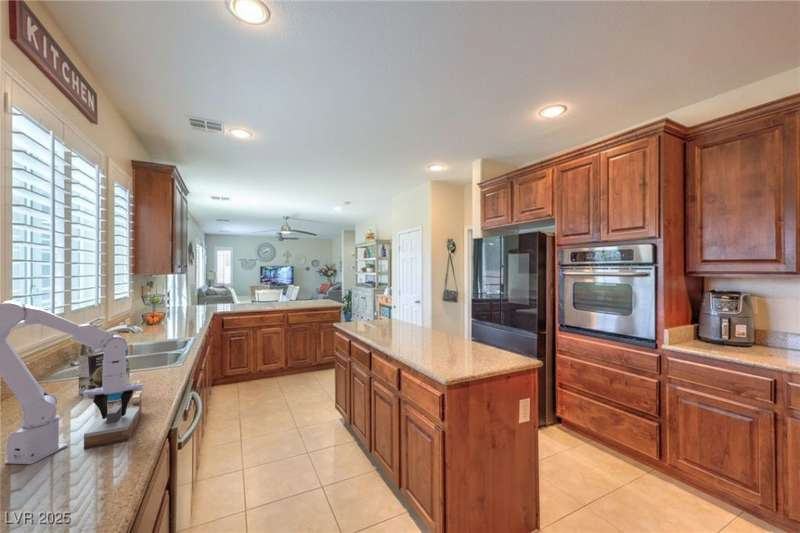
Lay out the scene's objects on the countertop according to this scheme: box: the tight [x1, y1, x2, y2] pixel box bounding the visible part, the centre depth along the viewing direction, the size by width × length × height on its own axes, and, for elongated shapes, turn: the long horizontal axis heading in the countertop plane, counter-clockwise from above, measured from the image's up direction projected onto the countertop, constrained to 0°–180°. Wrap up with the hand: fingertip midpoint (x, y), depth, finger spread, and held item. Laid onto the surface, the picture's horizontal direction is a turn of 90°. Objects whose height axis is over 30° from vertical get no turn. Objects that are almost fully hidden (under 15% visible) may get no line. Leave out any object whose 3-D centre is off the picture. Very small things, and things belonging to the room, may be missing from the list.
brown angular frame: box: [83, 399, 143, 450], centre depth 109 cm, size 22×10×4 cm, turn 27°
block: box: [131, 390, 143, 405], centre depth 119 cm, size 6×2×2 cm, turn 27°
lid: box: [83, 404, 140, 438], centre depth 106 cm, size 16×10×5 cm, turn 27°
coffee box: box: [77, 350, 104, 396], centre depth 141 cm, size 9×6×16 cm
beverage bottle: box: [102, 349, 131, 403], centre depth 133 cm, size 8×8×20 cm
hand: (114, 416), depth 106 cm, fingers open, 4 cm apart
